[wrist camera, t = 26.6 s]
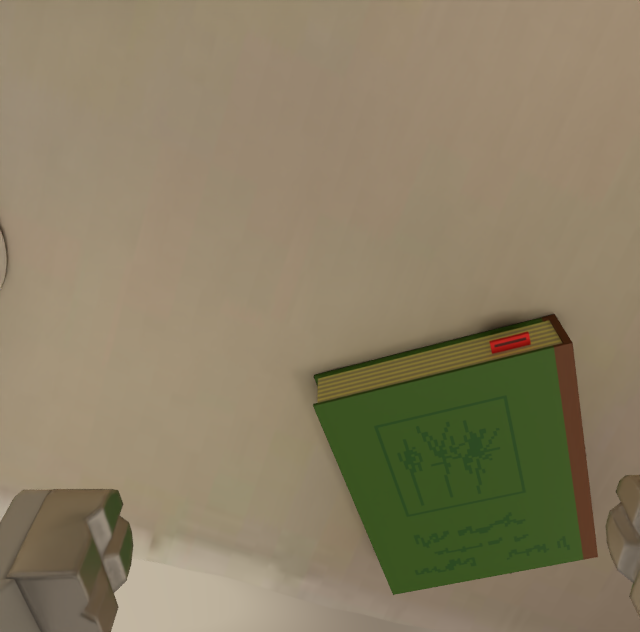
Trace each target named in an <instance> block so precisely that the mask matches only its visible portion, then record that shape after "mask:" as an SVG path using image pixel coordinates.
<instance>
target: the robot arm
mask: <svg viewBox="0 0 640 632" xmlns="http://www.w3.org/2000/svg"><path fill="white" fill-rule="evenodd" d="M6 267H7V256H6V247H5V242H4V238H3V235H2V232H1V229H0V289H1V287H2V285H3V282H4V278H5V274H6ZM616 493H617V495H618V497H619V499H620V501H621V502H620V503H619V504H618V505H617V506H615V507H614V508H613V509H611V510H610V511H609V515H608V519H607V523H606V537H607V544H608V548H609V552H610V555H611V558H612V560H613V562H614V564H615V566H616V569H617V570H618V571H619V572H620V573H621V574H623V575H624V576H625V577H626V578H628V579H629V580H630V581H631V582H633V586H632V589H631V593H630V596H629V597H630V599H631V601H632V603H633V605H634V607H635V609H636V611H637V613H638V615H639V618H640V475H625V476H624V477H623V478H622V479H621V480H620V481H619V484H618V487H617V490H616ZM122 506H123V502H122V500H121V497H120V494H119V491H118V490H114V489H53V490H22V491H21V492H20V493H19V494H18V495H16V496H15V497H14V499H13V500H12V502H11V504H10V506H9V508H8V509H7V511H6V513H5V515H4V517H3V518H2V520H1V522H0V632H111V629H112V626H113V623H114V620H115V616H116V613H117V610H118V604H117V602H116V599H115V596H114V592H115V591H116V590H117V589H119V588H120V586H122V584H124V583H125V582H126V580H127V577H128V573H129V570H130V566H131V560H132V551H133V539H132V531H131V528H130V524H129V522H128V521H126V520H125V519H124V518H122V517H121V516H120V512H121V509H122Z"/></svg>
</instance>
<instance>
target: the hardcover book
mask: <svg viewBox="0 0 640 632" xmlns="http://www.w3.org/2000/svg"><path fill="white" fill-rule="evenodd" d="M314 379H315V381H316V383H317V386H318V403H315V404H313V407H314V409H315V411H316V414H317V416H318V418H319V421H320V423H321V426H322V428H323V430H324V433H325V435H326V437H327V440H328V442H329V444H330V447H331V449H332V452H333V454H334V456H335V459H336V461H337V463H338V466H339V468H340V470H341V473H342V475H343V477H344V480H345V482H346V485H347V487H348V489H349V492H350V494H351V496H352V499H353V501H354V503H355V506H356V508H357V510H358V513H359V515H360V518H361V520H362V522H363V525H364V527H365V529H366V532H367V534H368V536H369V539H370V541H371V544H372V546H373V548H374V551H375V553H376V555H377V558H378V560H379V562H380V565H381V567H382V569H383V572H384V574H385V577H386V579H387V581H388V584H389V586H390V588H391V591H392V593H393V595H394V594H400V593H405V592H411V591H416V590H421V589H427V588H432V587H438V586H443V585H448V584H454V583H459V582H465V581H470V580H475V579H481V578H486V577H492V576H497V575H502V574H508V573H513V572H519V571H524V570H529V569H535V568H540V567H546V566H551V565H556V564H562V563H567V562H573V561H578V560H583V559H589V558H594V557H598V554H597V546H596V537H595V529H594V520H593V512H592V504H591V495H590V487H589V478H588V470H587V461H586V453H585V445H584V436H583V428H582V419H581V411H580V402H579V394H578V386H577V377H576V369H575V360H574V352H573V343H572V341H571V340H570V338H569V337H568V335H567V333H566V332H565V330H564V329H563V327H562V325H561V324H560V322H559V321H558V319H557V317H556V316H555V314H553V315H550V316H546V317H542V318H538V319H534V320H530V321H526V322H522V323H518V324H514V325H510V326H506V327H502V328H498V329H494V330H490V331H486V332H482V333H478V334H474V335H470V336H466V337H463V338H459V339H455V340H451V341H447V342H443V343H439V344H435V345H431V346H427V347H423V348H419V349H415V350H411V351H407V352H403V353H399V354H395V355H391V356H387V357H383V358H379V359H376V360H372V361H368V362H364V363H360V364H356V365H352V366H348V367H344V368H340V369H336V370H332V371H328V372H324V373H320V374H316V375H314Z"/></svg>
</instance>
